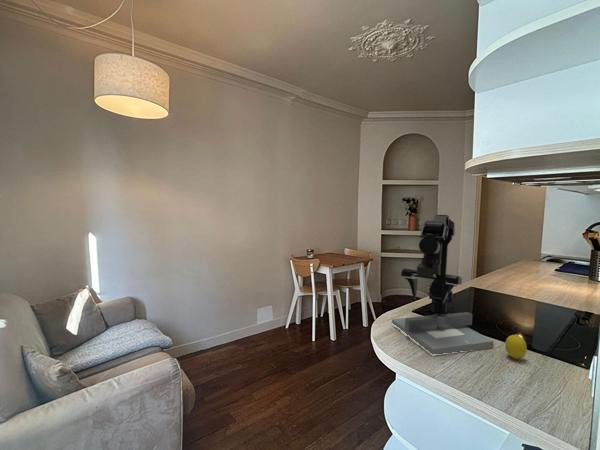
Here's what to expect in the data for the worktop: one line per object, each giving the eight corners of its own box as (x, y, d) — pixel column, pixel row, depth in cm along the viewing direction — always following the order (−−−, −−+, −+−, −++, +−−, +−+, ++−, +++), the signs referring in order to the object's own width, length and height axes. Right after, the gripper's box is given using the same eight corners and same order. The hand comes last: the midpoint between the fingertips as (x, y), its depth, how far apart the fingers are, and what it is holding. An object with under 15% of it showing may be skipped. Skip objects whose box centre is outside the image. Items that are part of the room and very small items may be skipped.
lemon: (501, 358, 95) (503, 333, 94) (507, 352, 98) (509, 329, 98) (522, 365, 91) (525, 340, 90) (527, 359, 94) (529, 335, 93)
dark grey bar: (464, 321, 115) (465, 311, 114) (474, 325, 111) (474, 315, 110) (403, 327, 108) (403, 317, 108) (410, 332, 104) (411, 321, 104)
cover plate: (442, 320, 124) (443, 313, 124) (493, 348, 101) (493, 340, 101) (391, 325, 118) (392, 318, 118) (432, 356, 95) (433, 348, 95)
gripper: (397, 251, 104) (392, 296, 102) (456, 257, 92) (452, 308, 91) (408, 254, 112) (404, 295, 111) (463, 260, 101) (460, 306, 99)
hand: (428, 301), depth 103 cm, fingers open, 9 cm apart
